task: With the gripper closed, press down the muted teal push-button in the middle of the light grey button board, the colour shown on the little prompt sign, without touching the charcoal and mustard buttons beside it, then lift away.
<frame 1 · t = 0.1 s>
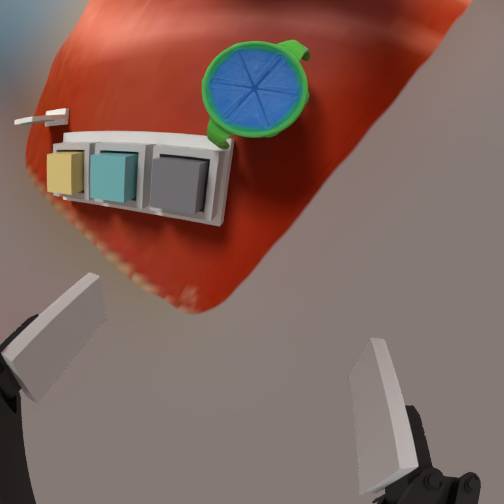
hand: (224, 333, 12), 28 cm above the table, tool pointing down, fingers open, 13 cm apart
charcoal button: (179, 183, 33), point 6 cm above the table, slide at 0.0 cm
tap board: (135, 169, 38), on the table
prompt sign: (58, 117, 36), on the table
snack cup: (264, 100, 32), on the table
teal button: (114, 175, 33), point 6 cm above the table, slide at 0.0 cm
mustard button: (66, 171, 34), point 6 cm above the table, slide at 0.0 cm
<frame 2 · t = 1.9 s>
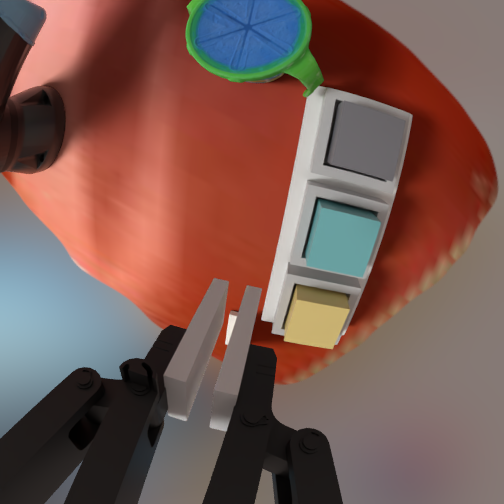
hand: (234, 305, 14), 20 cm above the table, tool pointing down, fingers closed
charcoal button: (364, 140, 23), point 6 cm above the table, slide at 0.0 cm
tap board: (333, 220, 32), on the table
prompt sign: (238, 328, 41), on the table
snack cup: (260, 56, 26), on the table
teal button: (340, 237, 27), point 6 cm above the table, slide at 0.0 cm
mustard button: (315, 315, 31), point 6 cm above the table, slide at 0.0 cm
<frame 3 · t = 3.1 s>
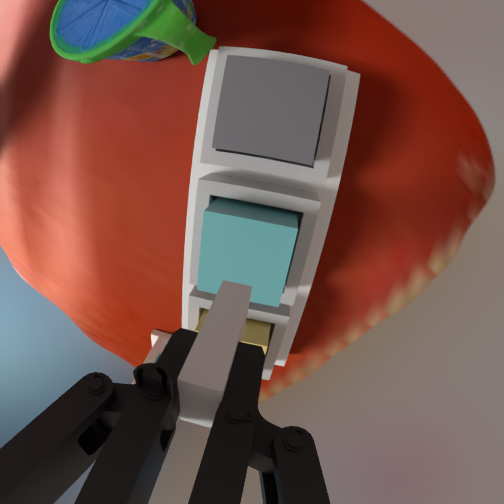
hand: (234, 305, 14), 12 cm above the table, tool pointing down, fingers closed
charcoal button: (272, 109, 16), point 6 cm above the table, slide at 0.0 cm
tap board: (256, 225, 25), on the table
prompt sign: (165, 348, 34), on the table
snack cup: (162, 30, 18), on the table
teal button: (247, 249, 20), point 6 cm above the table, slide at 0.0 cm
mustard button: (231, 347, 24), point 6 cm above the table, slide at 0.0 cm
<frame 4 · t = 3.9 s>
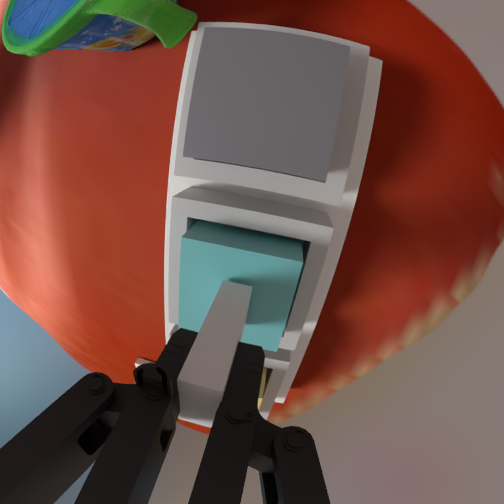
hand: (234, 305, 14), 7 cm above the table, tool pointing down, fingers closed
charcoal button: (268, 101, 11), point 6 cm above the table, slide at 0.0 cm
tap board: (251, 249, 21), on the table
snack cup: (139, 14, 14), on the table
teal button: (239, 282, 16), point 5 cm above the table, slide at 0.7 cm, touching gripper
mustard button: (221, 391, 20), point 6 cm above the table, slide at 0.0 cm
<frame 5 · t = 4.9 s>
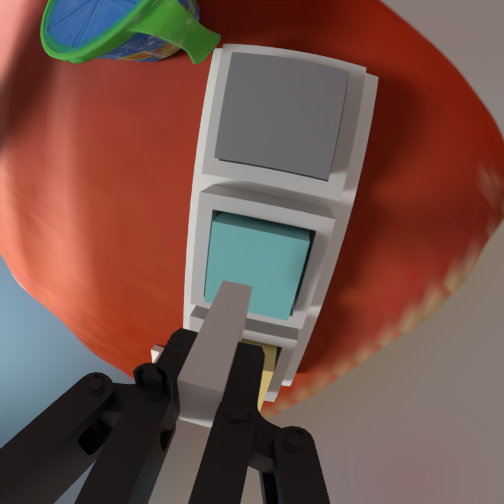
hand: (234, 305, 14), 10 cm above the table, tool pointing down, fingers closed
charcoal button: (282, 114, 14), point 6 cm above the table, slide at 0.0 cm
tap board: (263, 240, 23), on the table
snack cup: (163, 28, 17), on the table
teal button: (256, 261, 20), point 4 cm above the table, slide at 1.4 cm
mustard button: (234, 370, 22), point 6 cm above the table, slide at 0.0 cm
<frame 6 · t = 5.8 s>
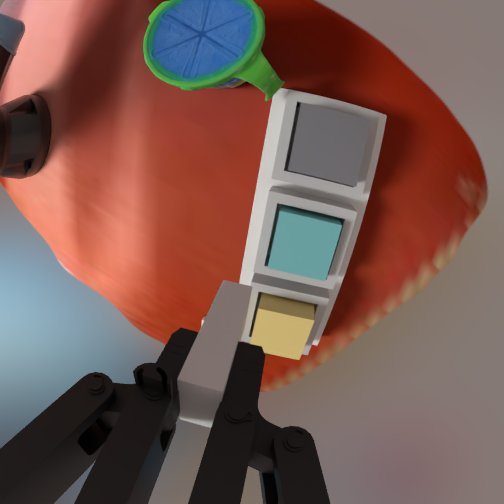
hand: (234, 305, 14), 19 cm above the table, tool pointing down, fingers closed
charcoal button: (327, 144, 23), point 6 cm above the table, slide at 0.0 cm
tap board: (303, 228, 32), on the table
snack cup: (228, 61, 26), on the table
teal button: (303, 240, 28), point 4 cm above the table, slide at 1.4 cm
mustard button: (281, 325, 31), point 6 cm above the table, slide at 0.0 cm
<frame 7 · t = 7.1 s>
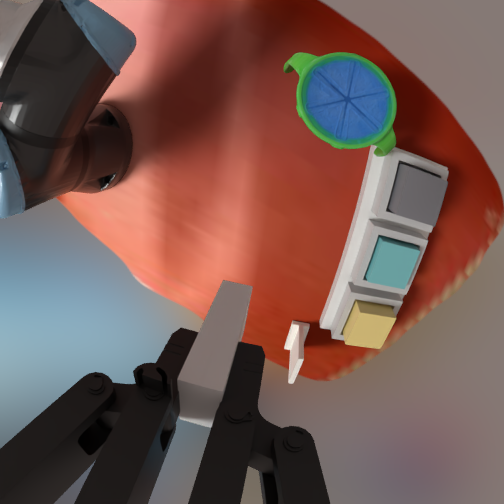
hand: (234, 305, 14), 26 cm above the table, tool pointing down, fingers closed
charcoal button: (416, 194, 29), point 6 cm above the table, slide at 0.0 cm
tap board: (382, 248, 39), on the table
prompt sign: (296, 334, 47), on the table
snack cup: (333, 108, 32), on the table
teal button: (390, 260, 35), point 4 cm above the table, slide at 1.4 cm
mustard button: (368, 323, 38), point 6 cm above the table, slide at 0.0 cm
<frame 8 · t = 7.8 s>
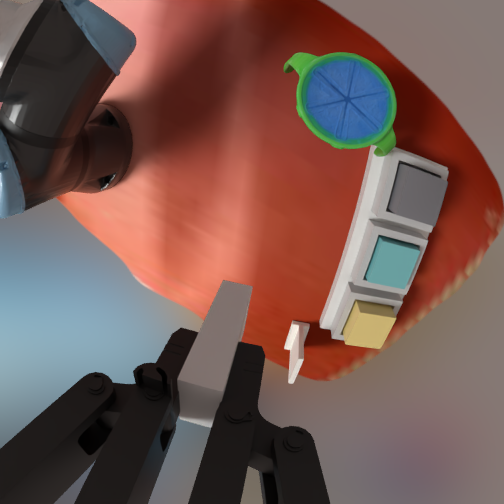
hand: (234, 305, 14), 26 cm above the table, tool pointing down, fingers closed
charcoal button: (416, 194, 29), point 6 cm above the table, slide at 0.0 cm
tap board: (382, 248, 39), on the table
prompt sign: (296, 334, 47), on the table
snack cup: (333, 108, 32), on the table
teal button: (390, 260, 35), point 4 cm above the table, slide at 1.4 cm
mustard button: (368, 323, 38), point 6 cm above the table, slide at 0.0 cm
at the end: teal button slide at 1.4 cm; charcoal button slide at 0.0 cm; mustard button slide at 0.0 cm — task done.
